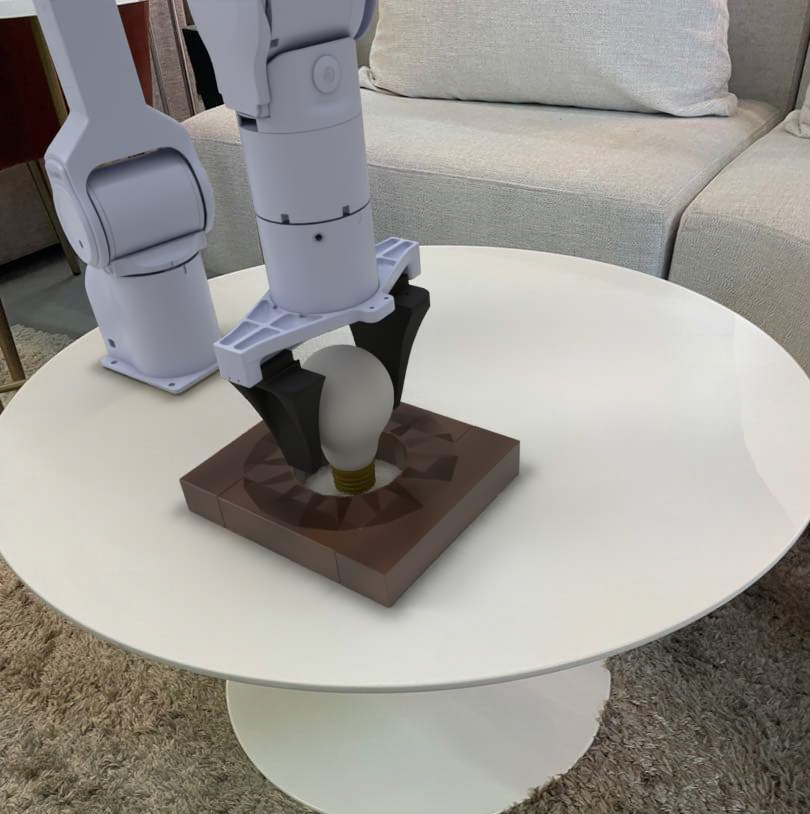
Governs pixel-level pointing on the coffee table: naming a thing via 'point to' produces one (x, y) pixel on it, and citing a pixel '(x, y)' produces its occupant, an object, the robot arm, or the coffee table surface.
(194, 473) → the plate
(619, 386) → the coffee table surface
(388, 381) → the light bulb
